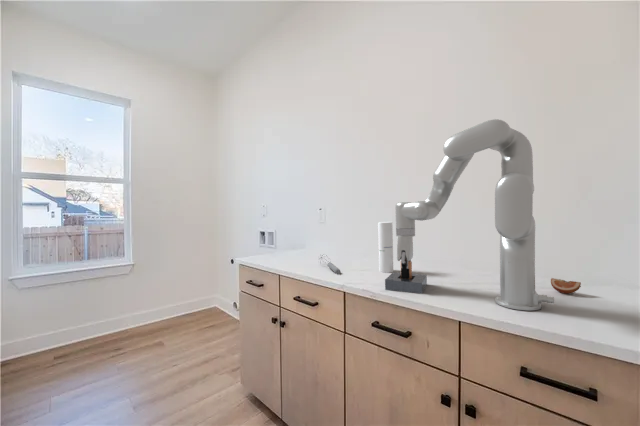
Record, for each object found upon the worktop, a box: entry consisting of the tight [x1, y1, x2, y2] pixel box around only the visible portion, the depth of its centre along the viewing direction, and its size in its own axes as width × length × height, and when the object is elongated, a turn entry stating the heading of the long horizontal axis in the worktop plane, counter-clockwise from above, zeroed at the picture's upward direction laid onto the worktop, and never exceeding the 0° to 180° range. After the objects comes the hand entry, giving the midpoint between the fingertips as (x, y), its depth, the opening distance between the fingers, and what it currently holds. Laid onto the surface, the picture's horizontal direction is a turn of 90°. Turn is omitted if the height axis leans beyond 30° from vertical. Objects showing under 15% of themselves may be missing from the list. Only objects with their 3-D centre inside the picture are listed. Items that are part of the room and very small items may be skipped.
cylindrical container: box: [377, 221, 394, 274], centre depth 150 cm, size 7×7×25 cm
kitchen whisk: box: [319, 253, 341, 275], centre depth 160 cm, size 6×34×6 cm, turn 15°
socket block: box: [384, 271, 428, 294], centre depth 120 cm, size 14×14×4 cm
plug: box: [401, 260, 413, 279], centre depth 120 cm, size 4×4×8 cm
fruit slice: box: [550, 277, 582, 295], centre depth 106 cm, size 8×7×5 cm
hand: (406, 276), depth 120 cm, fingers closed on plug, 4 cm apart
